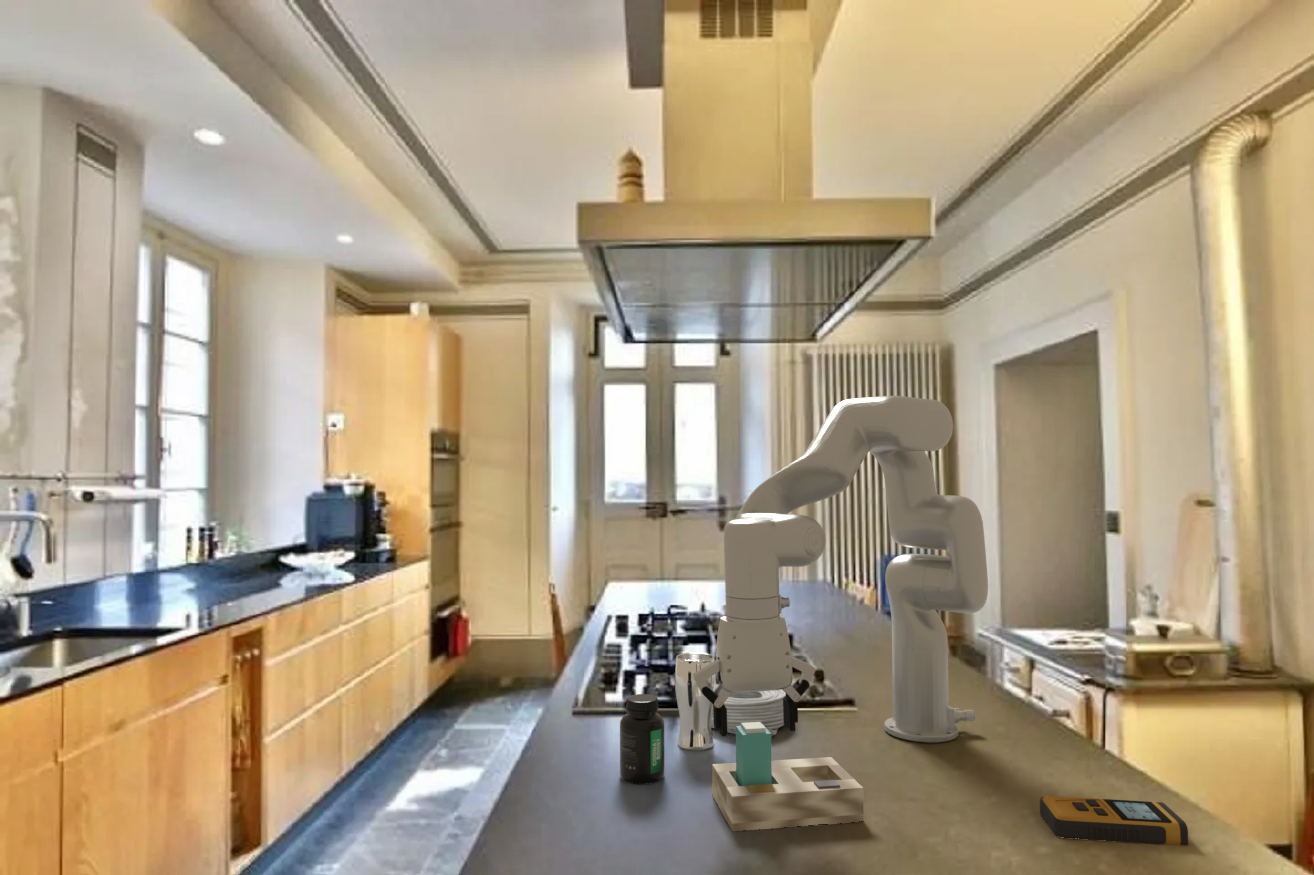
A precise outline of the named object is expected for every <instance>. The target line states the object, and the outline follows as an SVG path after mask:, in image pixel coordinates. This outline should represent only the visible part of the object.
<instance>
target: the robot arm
mask: <svg viewBox="0 0 1314 875" xmlns="http://www.w3.org/2000/svg"><path fill="white" fill-rule="evenodd" d="M953 432H954V421H953V416H952V415H951V412H950V410H949V408H948V407H947V406H946V405H945V404H944V403H943V402H941V401H939V400H937V399H932V398H931V399H929V398H921V397H920V398H919V397H912V396H905V395H903V396H902V395H880V396H869V397H867V396H866V397H854V398H847V399H845V400H841V401H840V402H838V403H837V404H836V405H834V406H833V407H832V409H831V411H829V414H828V415H827V416H826V418H825V419H824V421H823V422H822V424H821V426H820V427H819V429H818V430H817V432H816V434H815V436H814V437H813V439H812V440H811V442H810V443H809V445H807V447H806V450H805V451H804V453H803V454H802V455H801V457H799V458H798V459H796V460H794V461H793V462H791V463H789V464H788V465H786V466H785V467H783V468H782V469H780V470H778V471H777V472H775V473H774V474H773V475H771V476H770V477H768V478H767V479H766V480H764V481H763V482H761V483H760V484H759V485H758V486H757V487H756V488H755V489H753V491H752V492H751V493H750V494H749V496H748V497H747V499H746V501H745V502H744V503H743V505H742V507H741V508H740V509H739V511H738V513H737V514H736V517H735V518H734V519H732V520H730V521H728V522H727V523H726V524H725V526H724V528H723V551H724V552H723V553H724V556H723V557H724V584H725V585H724V586H725V588H724V590H725V615H723V616H720V618H719V623H718V629H717V638H716V654H715V656H716V657H715V659H714V662H712V663H710V664H709V665H707V666H705V667H704V668H702V669H700V670H699V671H697V672H695V673H694V674H693V678H694V680H695V682H696V684H697V685H698V687H699V689H700V691H701V692H702V694H703V695H704V696H705V697H706V698H707V699H708V700H709V701H710V702H711V703H712V704H713V718H714V727H715V728H714V729H715V730H717V732H718V733H719V734H720V736H721V737H722V738H725V737H727V736H728V732H727V708H726V707H725V706H724V703H725V701H726V700H727V699H728V697H729V696H730V695H731V693H743V692H758V691H771V690H781V689H782V690H783V691H784V692H785V693H786V696H784V698H783V719H784V725H783V726H785V728H787V729H788V731H790V732H795V731H796V724H797V723H798V722H799V710H798V708H799V706H798V703H799V701H801V699H802V698H801V697H802V696H803V695H804V694H805V692H806V691H808V689H809V687H810V683H811V681H812V680H813V678H814V676H815V673H816V668H815V667H814V666H813V665H811V664H809V663H807V662H805V661H803V660H801V659H799V658H797V657H794V656H792V650H791V645H790V644H791V643H790V637H789V633H788V632H789V631H788V626H787V622H786V619H785V616H784V615H783V614H782V611H783V609H784V608H789V607H790V606H791V605H790V603H791V602H790V598H789V597H784V596H781V594H780V568H783V567H788V568H789V567H790V568H791V567H792V568H793V567H795V568H801V567H806V566H809V565H812V564H814V563H815V562H816V561H817V560H819V558H820V557H821V556H822V555H823V553H824V550H825V548H826V540H827V539H826V534H825V531H824V529H823V527H822V525H821V524H820V523H819V522H818V521H817V520H815V519H814V518H813V517H810V516H807V515H804V514H797V513H794V514H793V513H791V512H793V511H795V510H796V509H800V508H801V507H804V506H807V505H810V504H814V503H817V502H821V501H824V500H827V499H828V498H831V497H834V496H836V495H839V494H840V493H842V492H844V491H845V490H846V489H848V487H850V484H851V483H852V482H853V480H854V477H855V476H856V474H857V472H858V470H859V468H860V467H861V465H862V463H863V462H864V459H866V457H867V455H868V453H870V454H871V455H872V456H873V457H874V458H875V460H876V461H877V462H878V464H879V465H880V469H881V471H882V474H883V478H884V479H883V480H884V485H885V496H886V507H887V515H888V516H887V517H888V525H889V532H890V536H891V538H892V540H893V541H894V542H895V543H896V544H898V545H900V546H902V547H906V548H914V549H926V550H941V551H946V552H947V554H948V555H938V554H927V553H925V554H924V553H903V554H901V555H898V556H895V557H894V558H893V559H891V560H890V562H889V563H888V565H887V567H886V570H885V576H884V579H885V581H884V582H885V589H886V594H887V597H888V602H889V608H890V617H891V618H890V619H891V651H892V652H891V653H892V654H891V655H892V656H891V659H892V660H891V661H892V662H891V663H892V665H891V666H892V668H891V669H892V673H891V674H892V717H890V718H889V717H888V718H887V719H886V720H884V726H883V728H884V730H885V731H886V733H887V734H889V735H891V736H893V737H896V738H899V739H902V740H906V741H911V742H917V743H919V742H920V743H944V742H949V741H952V740H955V739H956V738H958V736H959V727H958V726H957V724H958V723H959V722H974V721H975V720H976V713H975V711H974V710H973V709H963V710H961V708H960V707H952V706H950V704H949V653H948V652H949V650H948V648H949V646H948V642H949V641H948V633H947V630H946V629H947V628H946V626H945V624H944V622H943V620H942V619H941V616H940V615H939V613H938V612H937V611H942V612H951V613H952V612H953V613H958V614H974V613H976V612H979V611H981V610H982V608H984V607H985V604H986V602H987V600H988V592H989V579H988V578H989V577H988V566H987V555H986V541H985V531H984V530H985V529H984V523H983V522H984V521H983V517H982V515H981V512H980V508H978V505H977V504H976V503H975V502H974V501H973V500H972V499H971V498H968V497H966V496H961V495H953V494H951V495H947V494H944V495H943V494H938V492H937V490H936V488H937V487H936V483H935V476H934V468H933V464H932V462H931V460H930V458H929V456H928V454H927V453H926V452H935V451H940V450H942V449H943V448H944V447H946V446H947V444H948V443H949V441H950V440H951V438H952V436H953ZM793 668H794V669H796V670H798V671H800V672H801V674H800V677H799V678H798V679H797V681H795V682H794V684H793V685H792V683H793ZM714 674H715V676H716V681H717V684H719V685H718V686H717V688H716V689H715V690H714V691H712V690H711V689H710V688H709V687H708V685H707V683H706V680H707V679H708V678H709V677H711V676H712V675H714Z"/></svg>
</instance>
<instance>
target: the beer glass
mask: <svg viewBox="0 0 1314 875" xmlns="http://www.w3.org/2000/svg"><path fill="white" fill-rule="evenodd" d="M675 657H676V658H675V659H676V660H675V672H674V674H675V675H674V685H675V687H674V688H675V689H674V690H675V696H676V702H677V703H676V704H677V708H678V715H679V722H680V723H679V724H680V725H679V734H678V738H677V739H678V740H677V745H678V747H679V748H680V749H683V750H686V751H693V752H694V751H695V752H697V751H706V750H710V749H711V748H713V747H714V737H713V732H712V727H711V717H712V710H713V704H712V703H711V702H710V701H709V700H708V699H707V698H706V697H705V696H704V695H703V694H702V692H701V691H700V689H699V687H698V685H697V684H696V682H695V680H694V678H693V674H694V673H695V672H697V671H699V670H700V669H702V668H704V667H705V666H707V665H709V664H710V663H712V662H714V661H715V656H714V655H713V654H710V653H705V652H696V651H695V652H685V653H679V654H677V655H676V656H675ZM716 681H717V678H716V674H714V675H712V676H711V677H709V678H708V679H707V680H706V683H707V685H708V687H709V688H710V689H711V690H712V691H714V690H715V688H716V684H717V683H716Z"/></svg>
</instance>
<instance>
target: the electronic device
mask: <svg viewBox="0 0 1314 875" xmlns="http://www.w3.org/2000/svg"><path fill="white" fill-rule="evenodd" d="M1039 814H1040V817H1041V818H1042V817H1043V818H1042V819H1043V821H1044V820H1045V821H1044V822H1045V824H1046V823H1047V824H1048V825H1047V824H1046V825H1047V826H1048V828H1049V827H1050V828H1049V829H1050V831H1051V830H1052V831H1051V832H1052V833H1053V834H1054V835H1056V836H1055V837H1057V836H1059V837H1058V838H1060V837H1064V838H1063V839H1065V838H1073V839H1072V840H1081V839H1088V840H1087V841H1097V840H1106V841H1105V842H1112V841H1116V842H1115V843H1131V844H1147V845H1148V844H1149V845H1171V846H1172V845H1173V846H1188V845H1189V828H1188V826H1187V824H1186V821H1184V820H1183V819H1182V818H1181V817H1180V816H1179V815H1178V814H1176V813H1175V812H1174V811H1173V810H1172V809H1171V808H1170V807H1169V806H1168V805H1167V804H1166V803H1164V802H1161V801H1160V802H1159V801H1158V802H1157V801H1147V800H1146V801H1145V800H1144V801H1143V800H1128V799H1127V800H1126V799H1110V798H1109V799H1108V798H1092V797H1076V796H1075V797H1073V796H1071V797H1070V796H1055V795H1054V796H1053V795H1045V796H1042V797H1040V799H1039ZM1075 838H1077V839H1075ZM1078 838H1079V839H1078Z"/></svg>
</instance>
